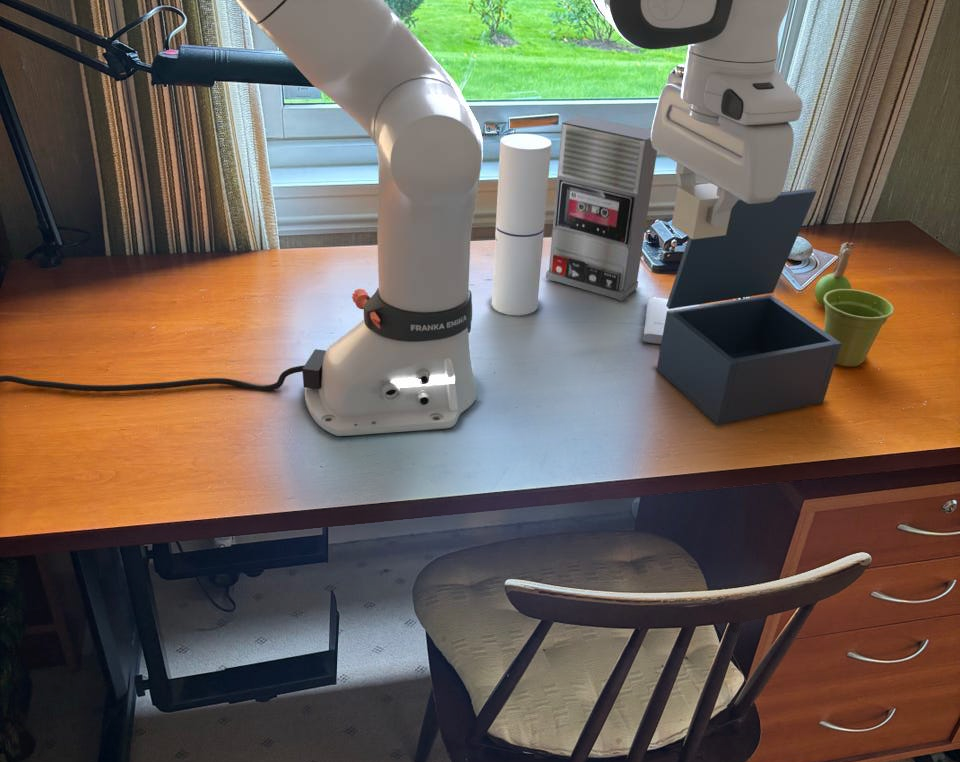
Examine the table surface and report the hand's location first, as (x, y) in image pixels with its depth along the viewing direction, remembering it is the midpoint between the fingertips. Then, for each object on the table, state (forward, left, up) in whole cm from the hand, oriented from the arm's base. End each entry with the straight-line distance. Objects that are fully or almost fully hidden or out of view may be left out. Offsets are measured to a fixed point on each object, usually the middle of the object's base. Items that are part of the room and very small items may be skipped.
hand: (701, 215), depth 101 cm
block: (0, 0, -2) cm, 2 cm away
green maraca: (+43, +20, -27) cm, 55 cm away
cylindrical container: (-5, +36, -27) cm, 45 cm away
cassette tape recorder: (+10, +39, -27) cm, 49 cm away
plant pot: (+34, +6, -27) cm, 44 cm away
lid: (+15, +9, -10) cm, 20 cm away
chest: (+15, +4, -27) cm, 31 cm away
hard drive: (+15, +22, -27) cm, 38 cm away
